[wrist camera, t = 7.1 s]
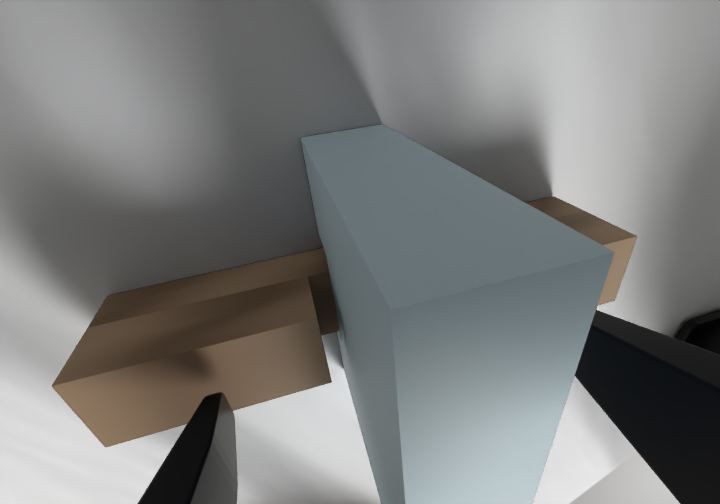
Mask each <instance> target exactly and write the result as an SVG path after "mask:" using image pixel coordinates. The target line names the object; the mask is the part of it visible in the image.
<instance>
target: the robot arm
mask: <svg viewBox="0 0 720 504" xmlns="http://www.w3.org/2000/svg"><path fill="white" fill-rule="evenodd" d="M575 376H576V378H577V379H578V380H579V381H580V383H581V384H582V385H583V386H584V388H585V389H586V390H587V391H588V392H589V394H590V395H591V396H592V397H593V398H594V400H595V401H596V402H597V403H598V405H599V406H600V407H601V408H602V409H603V411H604V412H605V413H606V414H607V415H608V417H609V418H610V419H611V420H612V421H613V423H614V424H615V425H616V426H617V428H618V429H619V430H620V431H621V432H622V434H623V435H624V436H625V437H626V438H627V440H628V441H629V442H630V443H631V445H632V446H633V447H634V448H635V449H636V451H637V452H638V453H639V454H640V455H641V457H642V458H643V459H644V460H645V461H646V463H647V464H648V465H649V466H650V467H651V469H652V470H653V471H654V472H655V474H656V475H657V476H658V477H659V478H660V480H661V481H662V482H663V483H664V484H665V486H666V487H667V488H668V489H669V490H670V492H671V493H672V494H673V495H674V496H675V498H676V499H677V500H678V501H679V503H680V504H720V311H718V312H715V313H712V314H709V315H705V316H702V317H699V318H696V319H693V320H690V321H689V322H687V323H686V324H685V325H684V326H683V328H682V330H681V332H680V334H679V336H678V338H677V339H675V338H672V337H669V336H666V335H664V334H661V333H658V332H655V331H653V330H650V329H647V328H644V327H642V326H639V325H636V324H633V323H630V322H628V321H625V320H622V319H619V318H617V317H614V316H611V315H608V314H606V313H603V312H600V311H597V310H596V311H595V314H594V317H593V321H592V324H591V327H590V330H589V333H588V336H587V339H586V342H585V345H584V348H583V351H582V354H581V357H580V360H579V363H578V366H577V369H576V372H575ZM237 486H238V483H237V458H236V435H235V418H234V413H233V411H232V409H231V406H230V404H229V402H228V400H227V398H226V396H225V394H224V393H223V392H218V393H214V394H210V395H207V396H205V397H204V398H203V400H202V401H201V403H200V404H199V406H198V408H197V409H196V411H195V412H194V414H193V416H192V417H191V419H190V420H189V422H188V424H187V425H186V427H185V428H184V430H183V432H182V433H181V435H180V437H179V438H178V440H177V441H176V443H175V445H174V446H173V448H172V449H171V451H170V453H169V454H168V456H167V457H166V459H165V461H164V462H163V464H162V465H161V467H160V469H159V470H158V472H157V473H156V475H155V477H154V478H153V480H152V481H151V483H150V485H149V486H148V488H147V489H146V491H145V493H144V494H143V496H142V497H141V499H140V501H139V502H138V504H237Z"/></svg>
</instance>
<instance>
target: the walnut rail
mask: <svg viewBox="0 0 720 504" xmlns="http://www.w3.org/2000/svg"><path fill="white" fill-rule="evenodd" d="M526 203H527V204H528V205H530V206H532V207H534V208H536V209H538V210H539V211H541V212H543V213H545V214H547V215H548V216H550V217H552V218H554V219H556V220H557V221H559V222H561V223H563V224H565V225H566V226H568V227H570V228H572V229H574V230H576V231H577V232H579V233H581V234H583V235H585V236H586V237H588V238H590V239H592V240H594V241H595V242H597V243H599V244H601V245H603V246H604V247H606V248H608V249H610V250H612V251H614V252H615V253H614V256H613V259H612V262H611V266H610V269H609V272H608V275H607V278H606V281H605V284H604V287H603V290H602V293H601V296H600V299H599V302H598V305H601V304H605V303H608V302H611V301H615V298H616V295H617V292H618V290H619V287H620V284H621V281H622V278H623V276H624V273H625V270H626V267H627V264H628V261H629V259H630V256H631V253H632V250H633V247H634V244H635V242H636V239H637V236H635V235H633V234H631V233H629V232H627V231H625V230H623V229H621V228H619V227H617V226H615V225H612V224H610V223H608V222H606V221H604V220H602V219H600V218H598V217H596V216H594V215H592V214H589V213H587V212H585V211H583V210H581V209H579V208H577V207H575V206H573V205H571V204H569V203H566V202H564V201H562V200H560V199H558V198H556V197H554V196H553V197H549V198H544V199H540V200H535V201H531V202H526ZM598 305H597V306H598ZM336 331H340V329H339V323H338V318H337V312H336V307H335V301H334V296H333V291H332V285H331V280H330V274H329V269H328V263H327V258H326V254H325V251H324V248H320V249H316V250H311V251H307V252H302V253H298V254H293V255H289V256H284V257H280V258H275V259H271V260H266V261H262V262H257V263H253V264H248V265H244V266H239V267H235V268H230V269H226V270H221V271H217V272H212V273H208V274H204V275H199V276H195V277H190V278H186V279H181V280H177V281H172V282H168V283H163V284H159V285H154V286H150V287H145V288H141V289H136V290H132V291H127V292H123V293H118V294H114V295H109V296H107V298H106V299H105V301H104V302H103V304H102V306H101V307H100V309H99V310H98V312H97V314H96V315H95V317H94V319H93V320H92V322H91V323H90V325H89V327H88V328H87V330H86V332H85V333H84V335H83V336H82V338H81V340H80V341H79V343H78V344H77V346H76V348H75V349H74V351H73V353H72V354H71V356H70V357H69V359H68V361H67V362H66V364H65V365H64V367H63V369H62V370H61V372H60V374H59V375H58V377H57V378H56V380H55V382H54V383H53V385H52V387H53V389H54V390H55V391H56V392H57V393H58V394H59V395H60V396H61V398H62V399H63V400H64V401H65V402H66V403H67V404H68V406H69V407H70V408H71V409H72V410H73V411H74V412H75V414H76V415H77V416H78V417H79V418H80V419H81V420H82V421H83V423H84V424H85V425H86V426H87V427H88V428H89V429H90V431H91V432H92V433H93V434H94V435H95V436H96V437H97V438H98V440H99V441H100V442H101V443H102V444H103V445H104V446H105V447H109V446H112V445H116V444H119V443H123V442H126V441H129V440H133V439H136V438H140V437H143V436H147V435H150V434H154V433H157V432H161V431H164V430H168V429H171V428H175V427H178V426H181V425H185V424H188V422H189V420H190V419H191V417H192V416H193V414H194V412H195V411H196V409H197V408H198V406H199V404H200V403H201V401H202V400H203V398H204V397H205V396H207V395H210V394H214V393H218V392H223V393H224V394H225V396H226V398H227V400H228V402H229V404H230V406H231V409H232V411H233V410H237V409H240V408H244V407H247V406H251V405H254V404H258V403H261V402H265V401H268V400H272V399H275V398H279V397H282V396H286V395H289V394H292V393H296V392H299V391H303V390H306V389H310V388H313V387H317V386H320V385H324V384H327V383H331V382H332V381H331V377H330V372H329V368H328V363H327V359H326V355H325V350H324V346H323V342H322V337H321V335H325V334H329V333H333V332H336Z"/></svg>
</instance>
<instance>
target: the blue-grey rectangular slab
mask: <svg viewBox="0 0 720 504" xmlns="http://www.w3.org/2000/svg"><path fill="white" fill-rule="evenodd" d="M301 143H302V149H303V154H304V159H305V165H306V170H307V175H308V180H309V186H310V191H311V196H312V202H313V207H314V212H315V217H316V223H317V228H318V233H319V236H320V239H321V242H322V245H323V248H324V251H325V254H326V258H327V263H328V269H329V274H330V280H331V285H332V291H333V296H334V301H335V307H336V312H337V318H338V323H339V329H340V331H337V334H338V339H339V344H340V350H341V355H342V360H343V366H344V371H345V374H346V378H347V382H348V385H349V389H350V392H351V396H352V400H353V403H354V407H355V410H356V414H357V418H358V421H359V425H360V428H361V432H362V436H363V439H364V443H365V447H366V450H367V454H368V457H369V461H370V465H371V468H372V472H373V475H374V479H375V483H376V486H377V490H378V493H379V497H380V501H381V504H533V501H534V498H535V495H536V492H537V489H538V486H539V483H540V479H541V476H542V473H543V470H544V467H545V464H546V461H547V458H548V455H549V452H550V449H551V446H552V443H553V440H554V437H555V434H556V431H557V428H558V424H559V421H560V418H561V415H562V412H563V409H564V406H565V403H566V400H567V397H568V394H569V391H570V388H571V385H572V382H573V379H574V376H575V372H576V369H577V366H578V363H579V360H580V357H581V354H582V351H583V348H584V345H585V342H586V339H587V336H588V333H589V330H590V327H591V324H592V321H593V317H594V314H595V311H596V308H597V305H598V302H599V299H600V296H601V293H602V290H603V287H604V284H605V281H606V278H607V275H608V272H609V269H610V266H611V262H612V259H613V256H614V253H615V252H614V251H612V250H610V249H608V248H606V247H604V246H603V245H601V244H599V243H597V242H595V241H594V240H592V239H590V238H588V237H586V236H585V235H583V234H581V233H579V232H577V231H576V230H574V229H572V228H570V227H568V226H566V225H565V224H563V223H561V222H559V221H557V220H556V219H554V218H552V217H550V216H548V215H547V214H545V213H543V212H541V211H539V210H538V209H536V208H534V207H532V206H530V205H528V204H527V203H525V202H523V201H521V200H519V199H518V198H516V197H514V196H512V195H510V194H509V193H507V192H505V191H503V190H501V189H500V188H498V187H496V186H494V185H492V184H490V183H489V182H487V181H485V180H483V179H481V178H480V177H478V176H476V175H474V174H472V173H471V172H469V171H467V170H465V169H463V168H462V167H460V166H458V165H456V164H454V163H452V162H451V161H449V160H447V159H445V158H443V157H442V156H440V155H438V154H436V153H434V152H433V151H431V150H429V149H427V148H425V147H424V146H422V145H420V144H418V143H416V142H414V141H413V140H411V139H409V138H407V137H405V136H404V135H402V134H400V133H398V132H396V131H395V130H393V129H391V128H389V127H387V126H386V125H384V124H380V125H374V126H368V127H362V128H356V129H350V130H343V131H337V132H331V133H325V134H319V135H313V136H307V137H301Z"/></svg>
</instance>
